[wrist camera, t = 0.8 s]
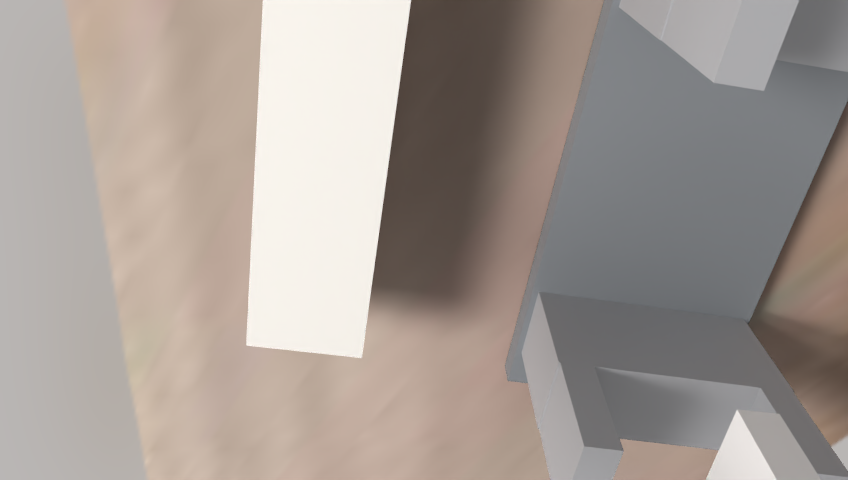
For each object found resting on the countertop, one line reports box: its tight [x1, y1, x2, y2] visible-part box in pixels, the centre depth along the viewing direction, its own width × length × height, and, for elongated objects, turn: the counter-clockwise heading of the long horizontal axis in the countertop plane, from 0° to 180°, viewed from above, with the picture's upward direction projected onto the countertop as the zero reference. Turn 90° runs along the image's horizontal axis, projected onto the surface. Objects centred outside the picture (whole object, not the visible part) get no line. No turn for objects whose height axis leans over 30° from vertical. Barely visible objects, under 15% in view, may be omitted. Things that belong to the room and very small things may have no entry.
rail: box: [246, 0, 411, 358], centre depth 24 cm, size 18×4×5 cm, turn 171°
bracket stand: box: [505, 0, 848, 480], centre depth 24 cm, size 20×9×10 cm, turn 171°
